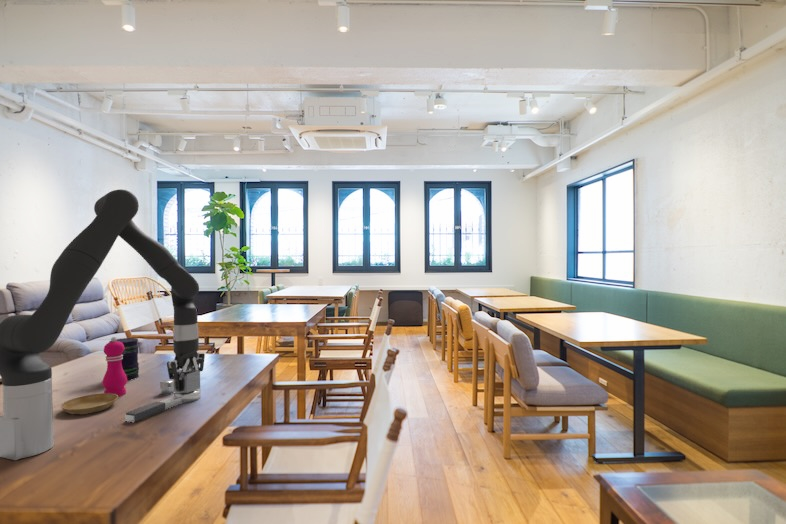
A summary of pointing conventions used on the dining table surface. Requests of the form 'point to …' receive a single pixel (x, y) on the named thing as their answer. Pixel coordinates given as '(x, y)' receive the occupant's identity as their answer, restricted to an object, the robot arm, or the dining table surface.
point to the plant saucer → (89, 403)
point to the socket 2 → (190, 380)
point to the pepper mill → (114, 368)
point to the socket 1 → (167, 387)
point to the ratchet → (161, 405)
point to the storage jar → (130, 357)
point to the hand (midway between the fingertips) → (187, 388)
